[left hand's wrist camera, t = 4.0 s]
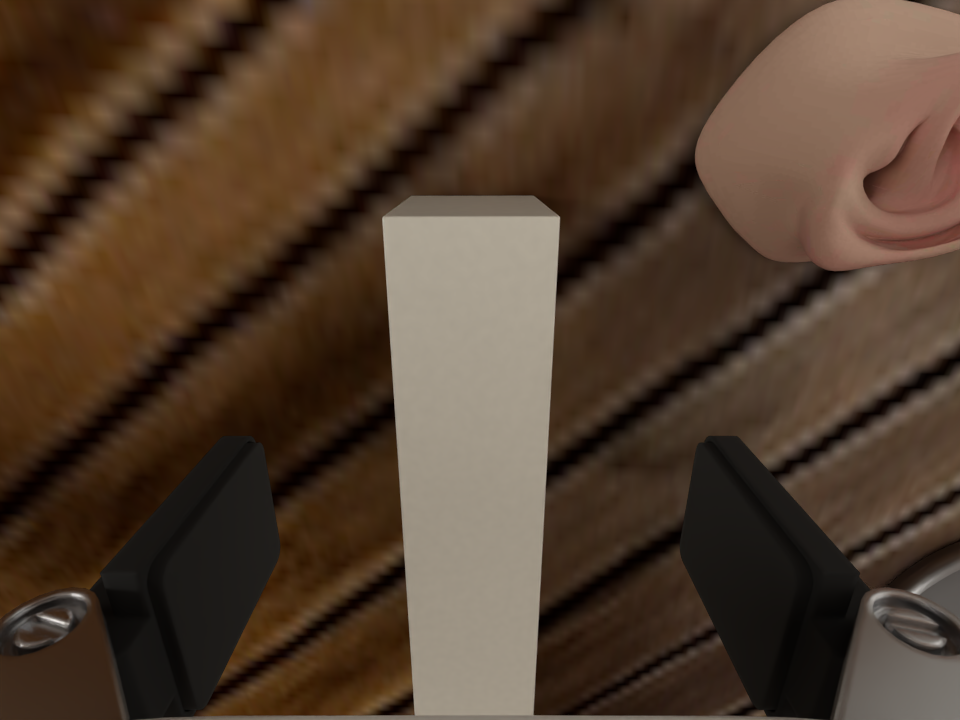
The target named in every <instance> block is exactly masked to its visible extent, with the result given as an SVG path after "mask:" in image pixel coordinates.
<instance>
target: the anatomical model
mask: <svg viewBox="0 0 960 720" xmlns="http://www.w3.org/2000/svg"><path fill="white" fill-rule="evenodd" d="M695 164H696V168H697V171H698V174H699V177H700V179H701V181H702V183H703V185H704V187H705V189H706V190H707V192H708V194H709V195H710V197H711V198H712V200H713V201H714V203H715V204H716V206H717V207H718V209H719V210H720V211H721V213H722V214H723V216H724V217H725V219H726V220H727V221H728V223H729V224H730V225H731V226H732V228H733V229H734V230H735V231H736V232H737V233H738V234H739V235H740V236H741V237H742V238H743V239H744V240H745V241H746V242H747V243H748V244H749V245H750V246H751V247H752V248H753V249H755V250H756V251H757V252H758V253H760V254H761V255H763V256H764V257H766V258H769V259H771V260H774V261H779V262H808V261H812V262H813V263H814V264H816V265H817V266H819V267H821V268H823V269H826V270H831V271H845V270H853V269H859V268H865V267H871V266H877V265H885V264H892V263H899V262H907V261H914V260H919V259H924V258H930V257H934V256H938V255H942V254H945V253H949V252H952V251H955V250H958V249H960V15H959V14H955V13H952V12H949V11H946V10H942V9H938V8H934V7H931V6H927V5H923V4H919V3H915V2H909V1H904V0H837V1H834V2H831V3H828V4H825V5H823V6H821V7H819V8H817V9H815V10H813V11H811V12H809V13H808V14H806V15H805V16H803V17H802V18H800V19H799V20H797V21H796V22H794V23H793V24H792V25H791V26H790V27H788V28H787V29H786V30H785V31H783V32H782V33H781V34H780V35H779V36H777V37H776V38H775V39H774V40H773V41H772V42H771V43H770V44H769V45H768V46H767V47H766V48H765V49H764V50H763V51H762V52H761V53H760V54H759V55H758V56H757V57H756V58H755V59H754V60H753V62H752V63H751V64H750V65H749V66H748V67H747V68H746V70H745V71H744V72H743V73H742V74H741V75H740V76H739V78H738V79H737V80H736V81H735V83H734V84H733V85H732V86H731V88H730V89H729V90H728V92H727V93H726V94H725V95H724V97H723V98H722V99H721V101H720V102H719V104H718V105H717V107H716V108H715V110H714V111H713V112H712V114H711V115H710V117H709V119H708V120H707V122H706V124H705V126H704V127H703V129H702V132H701V134H700V136H699V139H698V141H697V146H696V150H695Z"/></svg>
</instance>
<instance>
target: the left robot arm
mask: <svg viewBox="0 0 960 720" xmlns="http://www.w3.org/2000/svg"><path fill="white" fill-rule="evenodd" d="M279 553H280V540H279V534H278V528H277V523H276V517H275V511H274V505H273V499H272V494H271V488H270V482H269V476H268V470H267V465H266V459H265V453H264V448H263V445H262V444H261V443H256V442H255V440H254V438H253V437H252V436H223V437H222V438H220V439H219V440H218V442H217V443H216V444H215V445H214V446H213V447H212V448H211V449H210V451H209V452H208V453H207V454H206V455H205V456H204V457H203V458H202V460H201V461H200V462H199V463H198V464H197V465H196V466H195V467H194V468H193V470H192V471H191V472H190V473H189V474H188V475H187V476H186V477H185V479H184V480H183V481H182V482H181V483H180V484H179V485H178V486H177V487H176V489H175V490H174V491H173V492H172V493H171V494H170V495H169V496H168V498H167V499H166V500H165V501H164V502H163V503H162V504H161V505H160V506H159V508H158V509H157V510H156V511H155V512H154V513H153V514H152V515H151V517H150V518H149V519H148V520H147V521H146V522H145V523H144V524H143V526H142V527H141V528H140V529H139V530H138V531H137V532H136V533H135V534H134V536H133V537H132V538H131V539H130V540H129V541H128V542H127V543H126V545H125V546H124V547H123V548H122V549H121V550H120V551H119V552H118V553H117V555H116V556H115V557H114V558H113V559H112V560H111V561H110V562H109V564H108V565H107V566H106V567H105V568H104V569H103V570H102V571H101V572H100V575H101V578H100V579H99V580H98V581H97V582H96V583H95V584H94V585H93V587H92V588H91V589H90V590H88V589H86V588H73V587H72V588H65V589H59V590H55V591H51V592H48V593H45V594H42V595H39V596H37V597H35V598H33V599H31V600H29V601H27V602H25V603H22V604H21V605H19V606H18V607H16V608H15V609H13V610H12V611H10V612H8V613H7V614H5V615H4V616H3V617H2V618H1V619H0V720H960V619H959V618H958V617H957V616H956V615H955V614H953V613H952V612H950V611H948V610H947V609H945V608H944V607H942V606H941V605H939V604H938V603H935V602H933V601H931V600H929V599H927V598H925V597H923V596H921V595H918V594H915V593H912V592H909V591H905V590H901V589H895V588H888V587H887V588H874V589H872V590H870V589H869V588H868V587H867V585H866V584H865V583H864V582H863V581H862V580H861V579H860V578H859V575H860V572H859V571H858V570H857V569H856V568H855V567H854V566H853V565H852V564H851V562H850V561H849V560H848V559H847V558H846V557H845V556H844V555H843V553H842V552H841V551H840V550H839V549H838V548H837V547H836V546H835V545H834V543H833V542H832V541H831V540H830V539H829V538H828V537H827V536H826V534H825V533H824V532H823V531H822V530H821V529H820V528H819V527H818V526H817V524H816V523H815V522H814V521H813V520H812V519H811V518H810V517H809V515H808V514H807V513H806V512H805V511H804V510H803V509H802V508H801V506H800V505H799V504H798V503H797V502H796V501H795V500H794V499H793V498H792V496H791V495H790V494H789V493H788V492H787V491H786V490H785V489H784V487H783V486H782V485H781V484H780V483H779V482H778V481H777V480H776V479H775V477H774V476H773V475H772V474H771V473H770V472H769V471H768V470H767V468H766V467H765V466H764V465H763V464H762V463H761V462H760V461H759V460H758V458H757V457H756V456H755V455H754V454H753V453H752V452H751V451H750V449H749V448H748V447H747V446H746V445H745V444H744V443H743V442H742V441H741V439H740V438H738V437H737V436H708V437H707V438H706V440H705V442H704V443H699V444H698V445H697V448H696V453H695V459H694V465H693V470H692V476H691V482H690V488H689V494H688V499H687V505H686V511H685V517H684V523H683V528H682V534H681V540H680V553H681V558H682V561H683V563H684V565H685V567H686V569H687V571H688V573H689V575H690V577H691V579H692V581H693V583H694V585H695V587H696V589H697V591H698V593H699V596H700V598H701V600H702V602H703V604H704V606H705V608H706V610H707V612H708V614H709V616H710V618H711V620H712V622H713V624H714V626H715V628H716V630H717V632H718V634H719V636H720V638H721V640H722V642H723V644H724V646H725V649H726V651H727V653H728V655H729V657H730V659H731V661H732V663H733V665H734V667H735V669H736V671H737V673H738V675H739V677H740V679H741V681H742V683H743V685H744V687H745V689H746V691H747V693H748V695H749V697H750V699H751V701H752V703H753V705H754V706H755V707H756V708H757V709H759V710H764V711H765V713H766V715H767V717H754V716H569V715H392V716H206V717H193V715H194V713H195V711H196V710H201V709H203V708H204V707H205V706H206V705H207V703H208V701H209V699H210V697H211V695H212V693H213V691H214V689H215V687H216V685H217V683H218V681H219V679H220V677H221V675H222V673H223V671H224V669H225V667H226V665H227V663H228V661H229V659H230V657H231V655H232V653H233V651H234V649H235V646H236V644H237V642H238V640H239V638H240V636H241V634H242V632H243V630H244V628H245V626H246V624H247V622H248V620H249V618H250V616H251V614H252V612H253V610H254V608H255V606H256V604H257V602H258V600H259V598H260V596H261V593H262V591H263V589H264V587H265V585H266V583H267V581H268V579H269V577H270V575H271V573H272V571H273V569H274V567H275V565H276V563H277V561H278V558H279Z"/></svg>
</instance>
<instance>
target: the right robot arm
mask: <svg viewBox="0 0 960 720" xmlns="http://www.w3.org/2000/svg"><path fill="white" fill-rule="evenodd" d="M888 588H895V589H901V590H905V591H909V592H912V593H915V594H918V595H921V596H923V597H925V598H927V599H929V600H931V601H933V602H935V603H938V604H939V605H941V606H942V607H944V608H945V609H947V610H948V611H950V612H952V613H953V614H955V615H956V616H957V617H958V618H959V619H960V542H957V543H954V544H952V545H949V546H947V547H945V548H943V549H941V550H938V551H937V552H935V553H933V554H931V555H929V556H927V557H925V558H924V559H922V560H920V561H919V562H917V563H916V564H914V565H913V566H911V567H910V568H909V569H907V570H906V571H905V572H903V573H902V574H901V575H900V576H898V577H897V578H896V579H895V580H894V581H893V582H892V583H891V584H890V585H889V586H888Z"/></svg>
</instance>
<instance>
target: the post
mask: <svg viewBox="0 0 960 720" xmlns="http://www.w3.org/2000/svg"><path fill="white" fill-rule="evenodd" d="M382 222H383V237H384V252H385V268H386V283H387V298H388V313H389V329H390V344H391V359H392V374H393V390H394V405H395V420H396V435H397V450H398V466H399V481H400V496H401V511H402V527H403V542H404V557H405V572H406V588H407V603H408V618H409V633H410V648H411V664H412V679H413V694H414V709H415V715H533V714H534V696H535V677H536V658H537V640H538V621H539V602H540V584H541V565H542V546H543V528H544V509H545V490H546V472H547V453H548V434H549V415H550V397H551V378H552V359H553V341H554V322H555V303H556V285H557V266H558V247H559V229H560V217H559V216H558V215H557V214H556V213H554V212H553V211H552V210H551V209H549V208H548V207H547V206H546V205H544V204H543V203H542V202H541V201H539V200H538V199H537V198H536V197H535V196H411V197H409V198H408V199H407V200H405V201H404V202H402V203H401V204H400V205H398V206H397V207H396V208H394V209H393V210H391V211H390V212H389V213H387V214H386V215H385V216H383V218H382Z"/></svg>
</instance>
